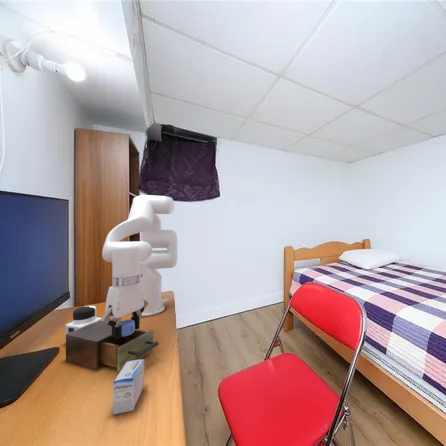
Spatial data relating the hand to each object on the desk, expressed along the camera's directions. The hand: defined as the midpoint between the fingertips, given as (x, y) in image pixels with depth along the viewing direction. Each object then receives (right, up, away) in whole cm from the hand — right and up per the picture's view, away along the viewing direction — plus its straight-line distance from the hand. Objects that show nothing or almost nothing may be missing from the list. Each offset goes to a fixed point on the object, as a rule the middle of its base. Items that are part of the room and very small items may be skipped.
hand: (126, 332), depth 73 cm
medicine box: (+14, -10, -16) cm, 24 cm away
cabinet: (-11, -9, +3) cm, 15 cm away
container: (-25, -9, +11) cm, 29 cm away
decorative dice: (0, -1, 0) cm, 1 cm away
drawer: (+1, -9, 0) cm, 9 cm away
